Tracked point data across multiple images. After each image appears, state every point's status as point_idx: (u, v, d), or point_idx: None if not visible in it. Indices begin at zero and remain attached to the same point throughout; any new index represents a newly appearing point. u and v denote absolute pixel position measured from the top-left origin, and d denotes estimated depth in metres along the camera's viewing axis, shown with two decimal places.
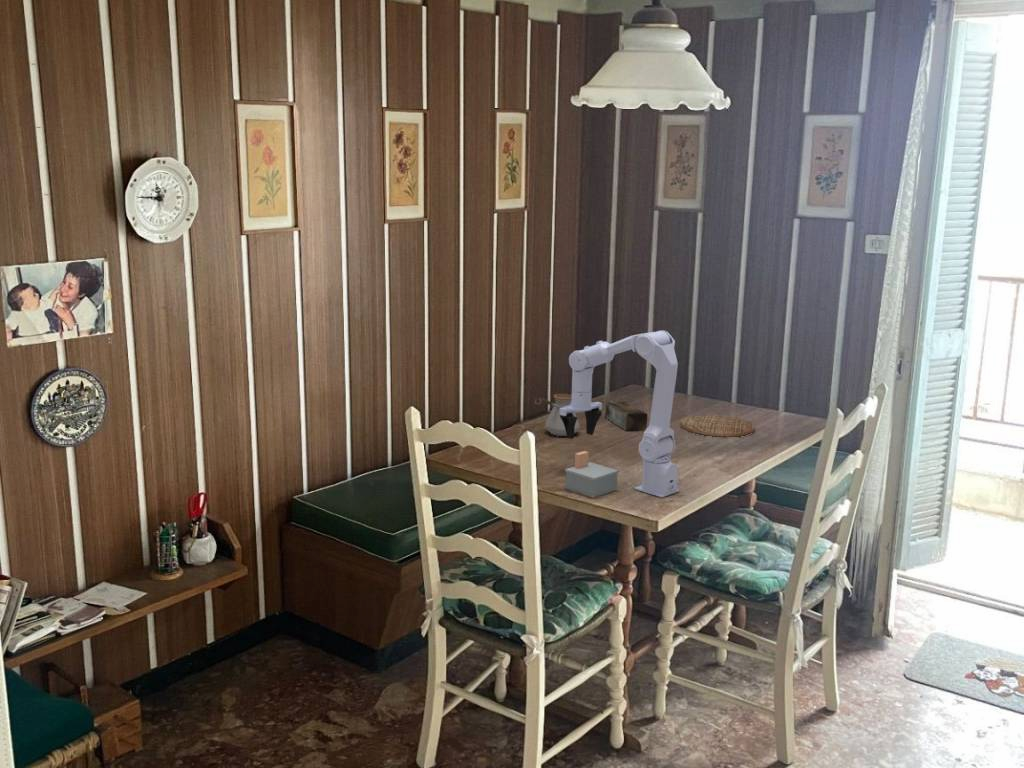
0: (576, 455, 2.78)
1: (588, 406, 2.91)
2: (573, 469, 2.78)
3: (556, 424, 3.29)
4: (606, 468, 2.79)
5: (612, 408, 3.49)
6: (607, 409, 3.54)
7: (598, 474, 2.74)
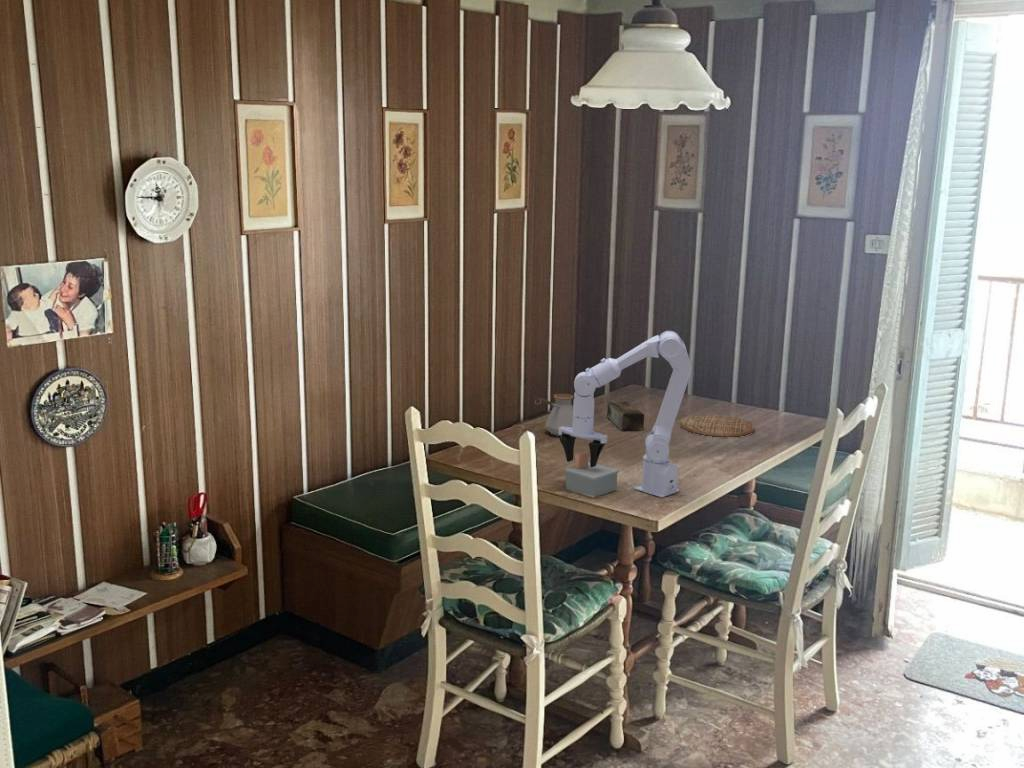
0: (576, 455, 2.78)
1: (578, 432, 2.75)
2: (573, 469, 2.78)
3: (556, 424, 3.29)
4: (606, 468, 2.79)
5: (612, 408, 3.50)
6: (609, 409, 3.54)
7: (598, 474, 2.74)
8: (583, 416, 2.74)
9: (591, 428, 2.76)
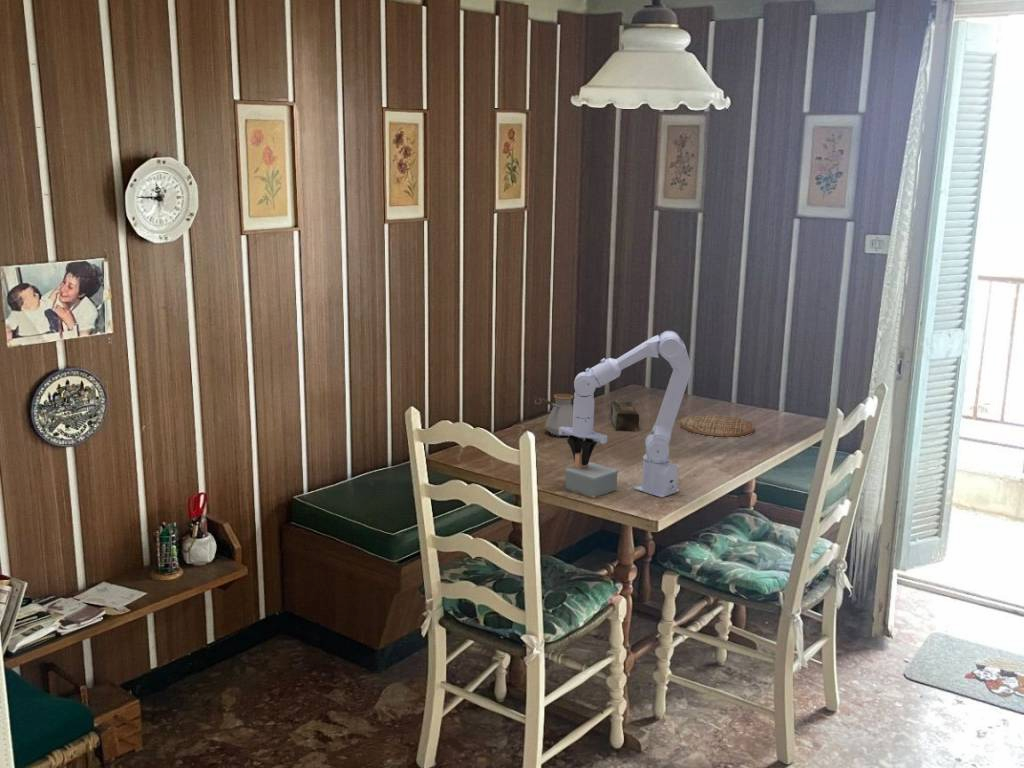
0: (576, 455, 2.78)
1: (578, 432, 2.75)
2: (573, 469, 2.78)
3: (556, 424, 3.29)
4: (606, 468, 2.79)
5: None
6: (611, 408, 3.55)
7: (598, 474, 2.74)
8: (583, 416, 2.74)
9: (591, 428, 2.76)
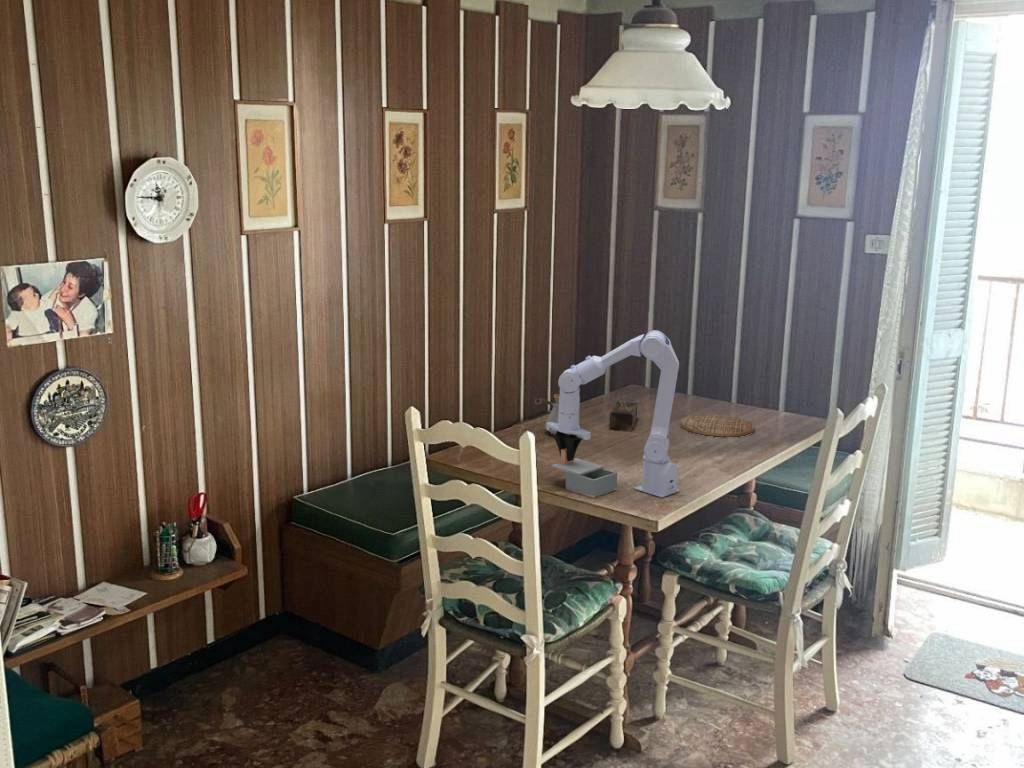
0: (562, 451, 2.82)
1: (562, 428, 2.79)
2: (559, 464, 2.81)
3: None
4: (592, 464, 2.83)
5: None
6: None
7: (583, 470, 2.77)
8: (567, 412, 2.78)
9: (575, 424, 2.79)
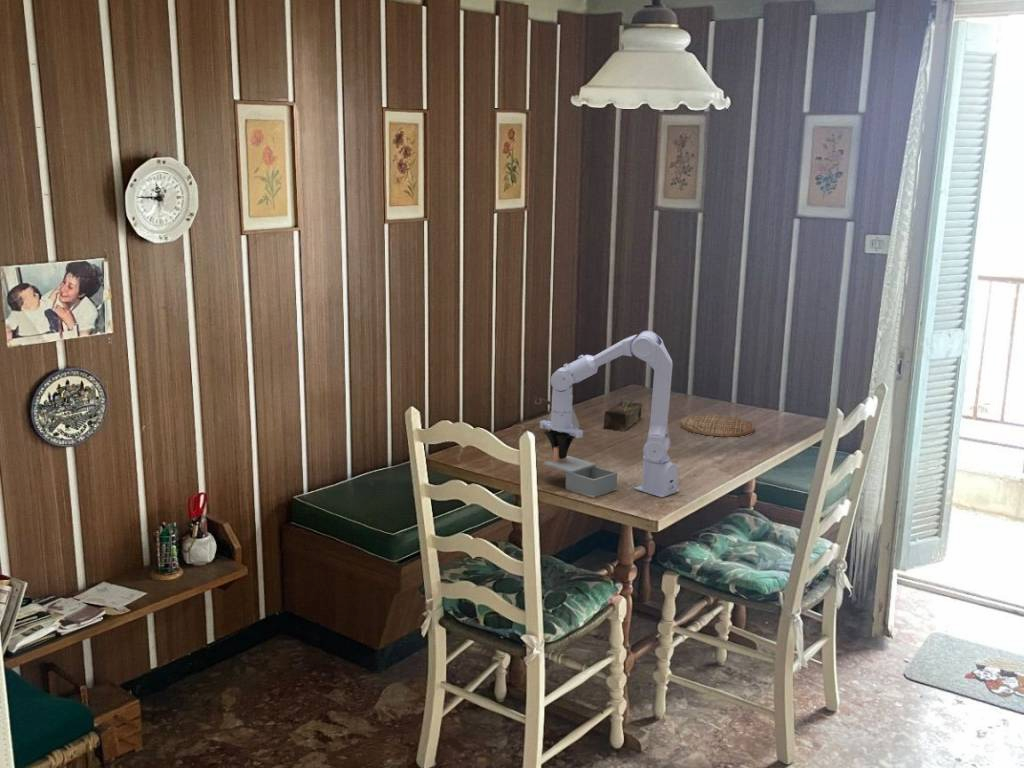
0: (554, 449, 2.84)
1: (555, 426, 2.81)
2: (551, 462, 2.83)
3: None
4: (584, 461, 2.85)
5: None
6: None
7: (576, 467, 2.79)
8: (559, 410, 2.80)
9: (568, 423, 2.81)
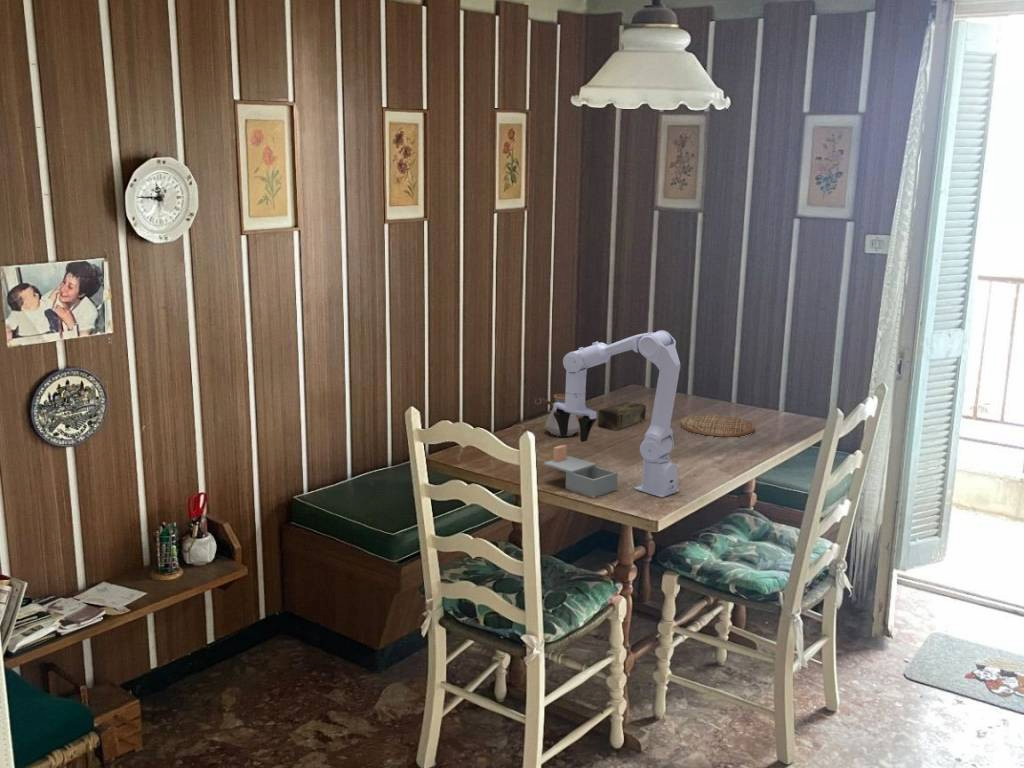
0: (554, 449, 2.84)
1: (569, 408, 2.87)
2: (551, 462, 2.83)
3: (556, 424, 3.29)
4: (584, 461, 2.85)
5: None
6: None
7: (576, 467, 2.79)
8: (570, 392, 2.85)
9: (582, 404, 2.87)
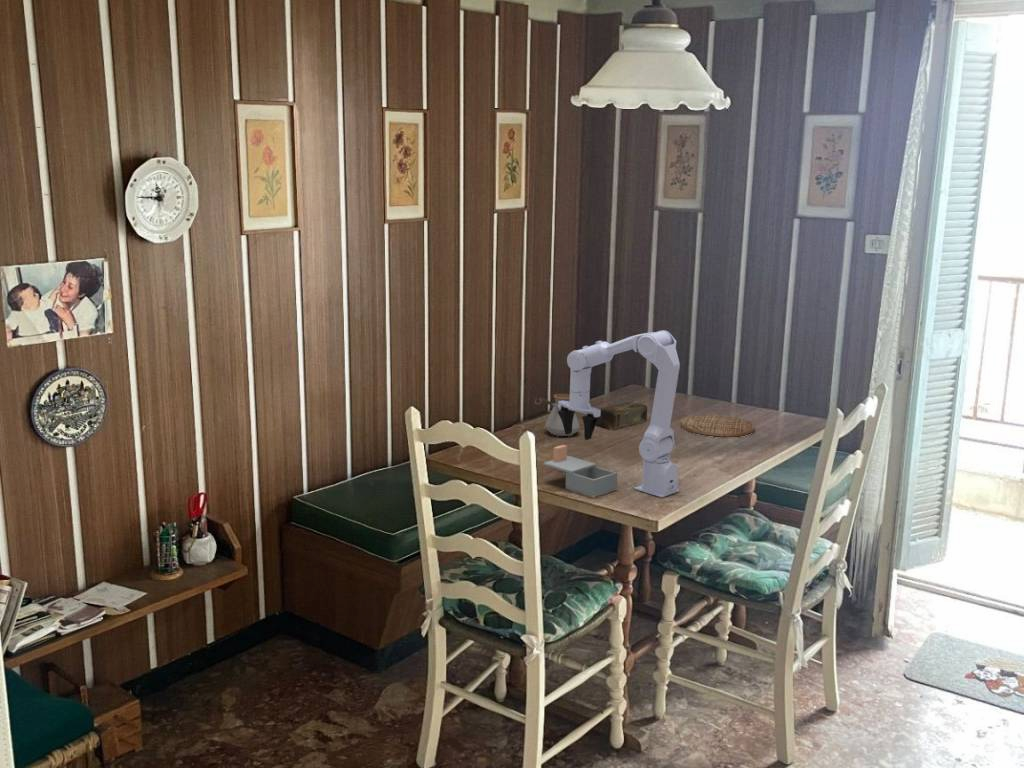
0: (554, 449, 2.84)
1: (573, 406, 2.89)
2: (551, 462, 2.83)
3: (556, 424, 3.29)
4: (584, 461, 2.85)
5: None
6: None
7: (576, 467, 2.79)
8: (574, 390, 2.88)
9: (586, 402, 2.89)
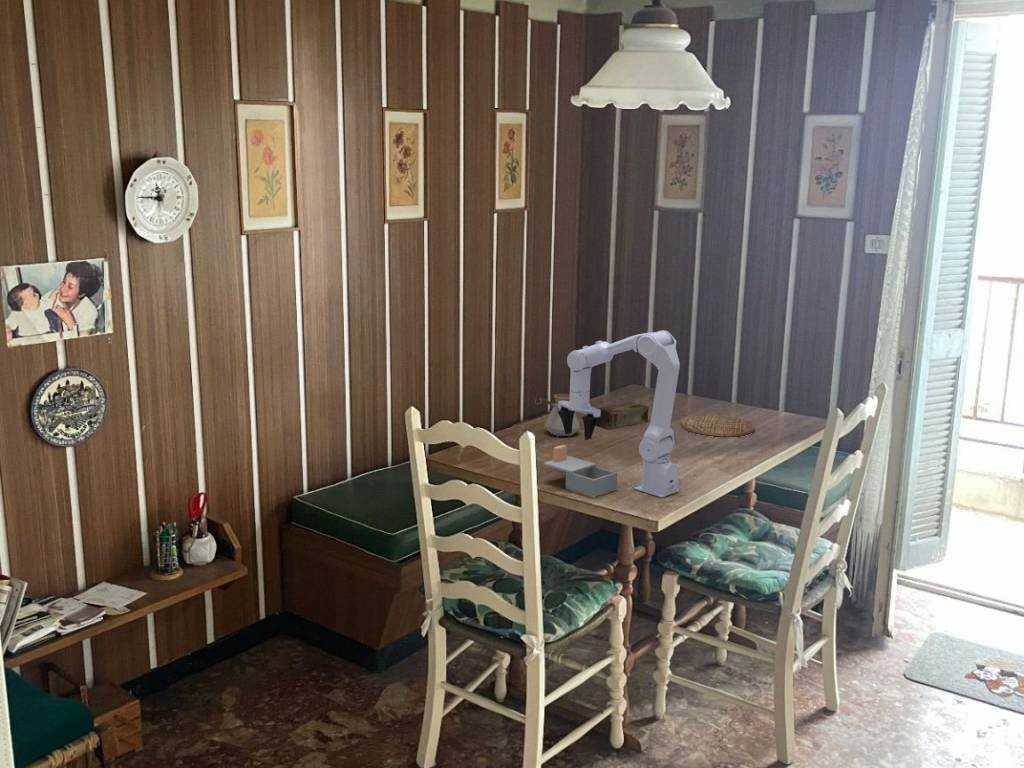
0: (554, 449, 2.84)
1: (573, 406, 2.89)
2: (551, 462, 2.83)
3: (556, 424, 3.29)
4: (584, 461, 2.85)
5: None
6: None
7: (576, 467, 2.79)
8: (574, 390, 2.88)
9: (586, 402, 2.89)
